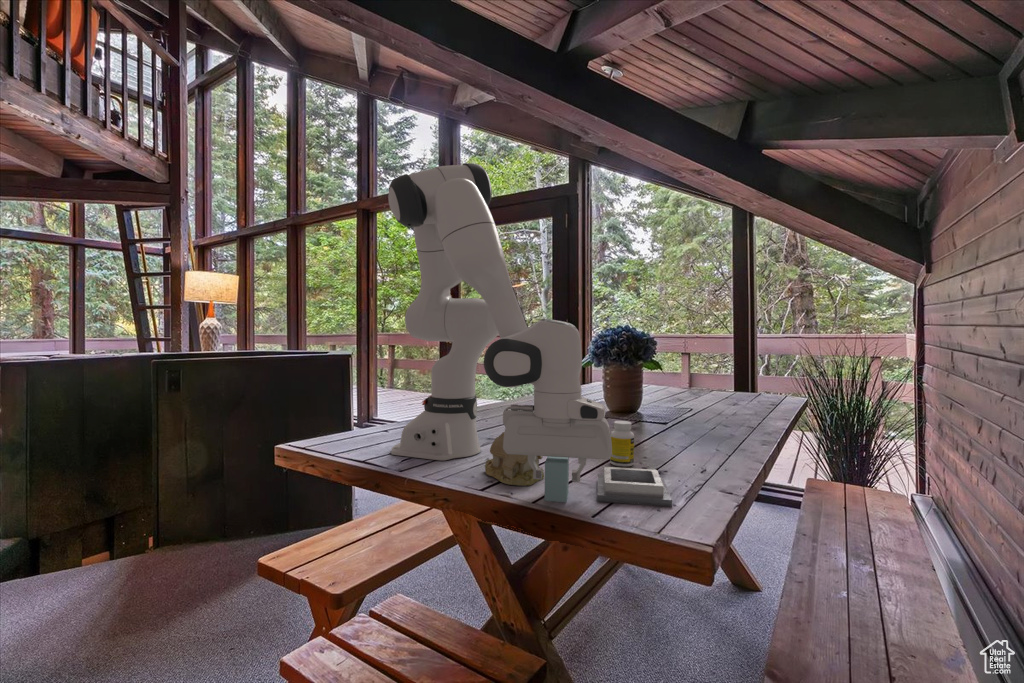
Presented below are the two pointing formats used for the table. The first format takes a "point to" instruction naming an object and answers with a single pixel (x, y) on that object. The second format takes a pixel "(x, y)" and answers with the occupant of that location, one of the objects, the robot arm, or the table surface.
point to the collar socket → (632, 487)
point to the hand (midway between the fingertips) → (556, 479)
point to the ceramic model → (510, 466)
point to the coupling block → (556, 478)
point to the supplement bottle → (622, 444)
